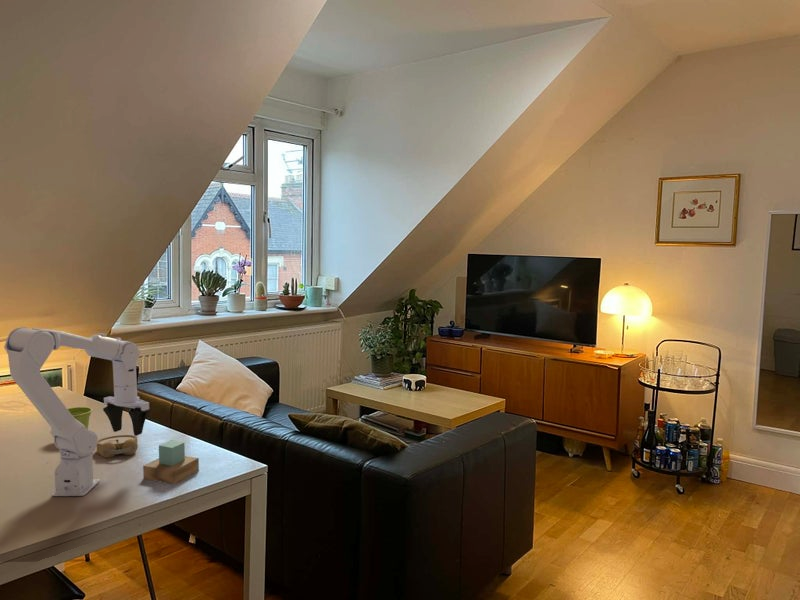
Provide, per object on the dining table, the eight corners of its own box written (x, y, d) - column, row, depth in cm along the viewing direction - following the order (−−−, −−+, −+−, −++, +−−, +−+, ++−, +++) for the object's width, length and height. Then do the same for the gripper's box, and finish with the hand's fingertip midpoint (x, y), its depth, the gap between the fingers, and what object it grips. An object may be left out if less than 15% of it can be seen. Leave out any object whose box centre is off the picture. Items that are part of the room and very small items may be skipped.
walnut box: (198, 472, 170) (198, 458, 170) (174, 485, 161) (174, 470, 161) (168, 467, 174) (168, 453, 173) (143, 480, 164) (143, 465, 164)
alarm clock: (135, 432, 193) (140, 438, 180) (135, 448, 193) (141, 455, 180) (95, 438, 188) (98, 444, 175) (96, 454, 188) (98, 461, 174)
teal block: (184, 460, 168) (184, 442, 168) (172, 466, 164) (171, 447, 163) (171, 457, 170) (171, 440, 169) (159, 463, 166) (158, 445, 165)
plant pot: (99, 436, 198) (98, 409, 197) (71, 444, 190) (70, 416, 189) (81, 431, 203) (80, 405, 202) (53, 439, 195) (52, 412, 194)
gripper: (156, 383, 169) (158, 431, 170) (117, 378, 174) (119, 424, 176) (136, 389, 162) (139, 439, 164) (96, 384, 168) (99, 432, 170)
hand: (127, 432), depth 170 cm, fingers open, 7 cm apart
